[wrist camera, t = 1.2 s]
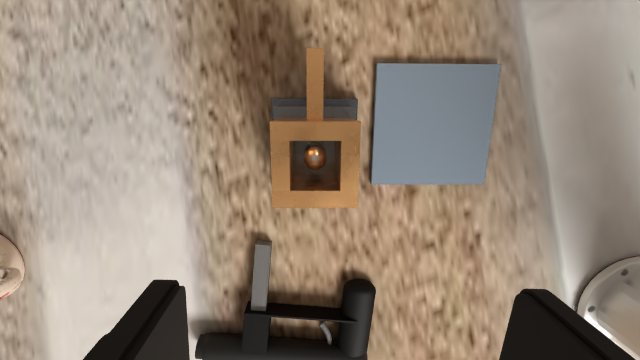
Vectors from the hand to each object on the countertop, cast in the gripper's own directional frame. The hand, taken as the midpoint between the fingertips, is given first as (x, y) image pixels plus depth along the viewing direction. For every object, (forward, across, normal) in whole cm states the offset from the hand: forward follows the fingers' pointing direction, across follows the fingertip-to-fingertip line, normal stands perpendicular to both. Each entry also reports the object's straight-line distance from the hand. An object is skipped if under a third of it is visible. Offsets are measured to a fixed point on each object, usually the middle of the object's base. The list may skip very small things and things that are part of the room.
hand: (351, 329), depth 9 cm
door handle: (+25, +2, +18) cm, 31 cm away
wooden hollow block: (+20, +1, -4) cm, 20 cm away
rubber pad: (+24, -12, -4) cm, 27 cm away
